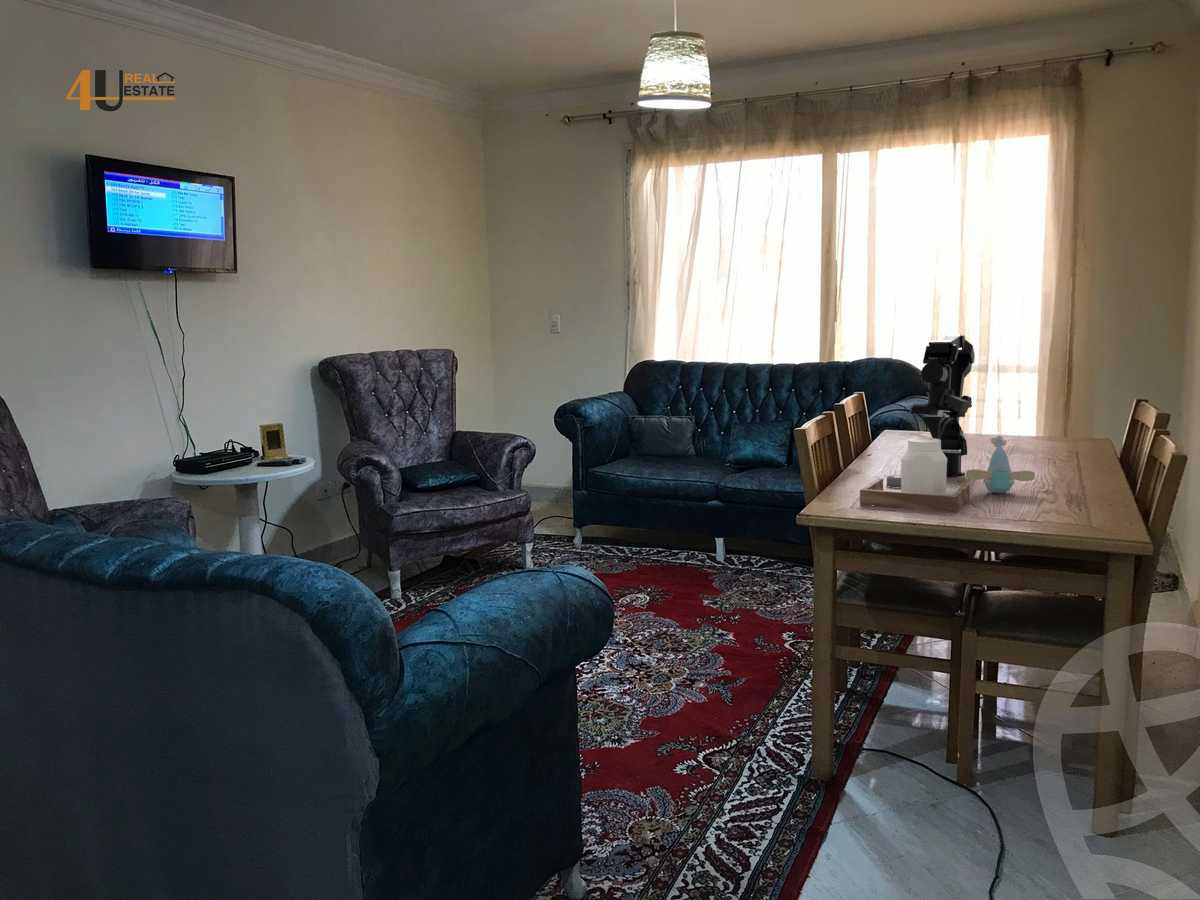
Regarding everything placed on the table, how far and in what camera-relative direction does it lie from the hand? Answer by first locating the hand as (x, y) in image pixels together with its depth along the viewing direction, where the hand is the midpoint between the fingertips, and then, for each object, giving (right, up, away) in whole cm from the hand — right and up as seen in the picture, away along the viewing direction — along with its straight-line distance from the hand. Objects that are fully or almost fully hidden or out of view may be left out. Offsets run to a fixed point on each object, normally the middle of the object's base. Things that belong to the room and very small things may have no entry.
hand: (936, 442), depth 262 cm
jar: (-7, -15, -10) cm, 19 cm away
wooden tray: (-12, -16, -18) cm, 27 cm away
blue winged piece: (+13, -14, -11) cm, 22 cm away
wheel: (-10, -12, +3) cm, 16 cm away
